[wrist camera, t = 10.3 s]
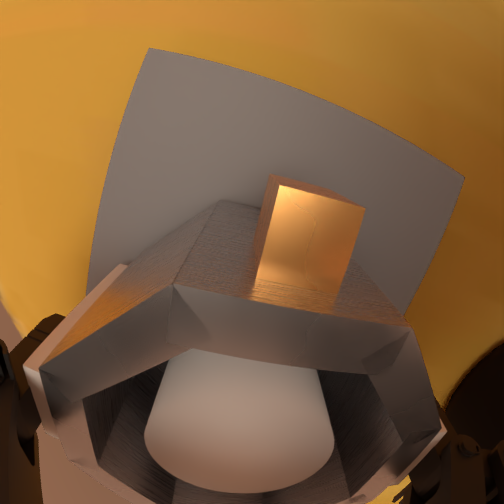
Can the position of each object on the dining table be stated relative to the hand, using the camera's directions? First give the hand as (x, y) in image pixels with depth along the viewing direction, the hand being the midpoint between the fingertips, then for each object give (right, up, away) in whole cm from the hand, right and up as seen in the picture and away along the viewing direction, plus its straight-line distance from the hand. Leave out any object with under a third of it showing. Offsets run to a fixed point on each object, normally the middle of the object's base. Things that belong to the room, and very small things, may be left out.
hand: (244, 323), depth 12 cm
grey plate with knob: (0, +1, +2) cm, 2 cm away
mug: (0, 0, 0) cm, 0 cm away
